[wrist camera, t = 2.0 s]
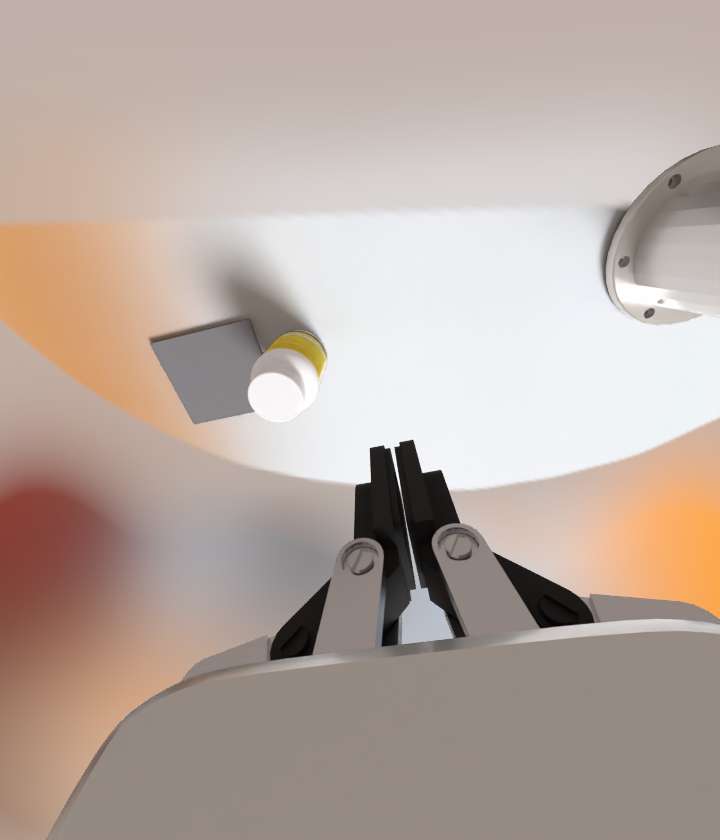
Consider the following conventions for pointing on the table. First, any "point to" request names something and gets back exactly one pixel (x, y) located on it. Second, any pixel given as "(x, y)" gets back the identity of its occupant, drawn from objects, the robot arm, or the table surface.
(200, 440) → the table surface
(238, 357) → the mat
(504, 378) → the table surface
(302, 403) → the supplement bottle
